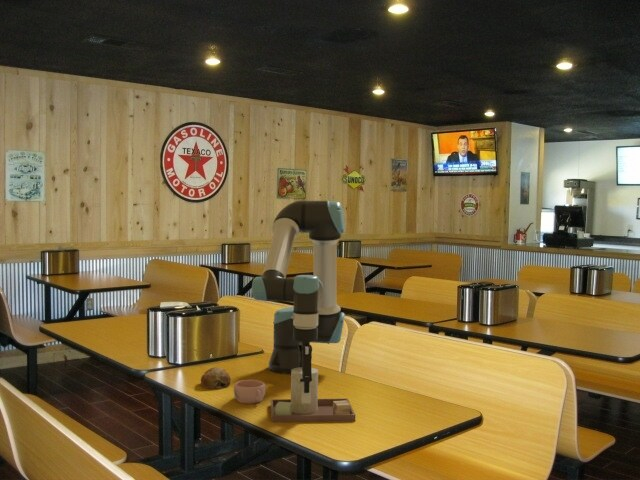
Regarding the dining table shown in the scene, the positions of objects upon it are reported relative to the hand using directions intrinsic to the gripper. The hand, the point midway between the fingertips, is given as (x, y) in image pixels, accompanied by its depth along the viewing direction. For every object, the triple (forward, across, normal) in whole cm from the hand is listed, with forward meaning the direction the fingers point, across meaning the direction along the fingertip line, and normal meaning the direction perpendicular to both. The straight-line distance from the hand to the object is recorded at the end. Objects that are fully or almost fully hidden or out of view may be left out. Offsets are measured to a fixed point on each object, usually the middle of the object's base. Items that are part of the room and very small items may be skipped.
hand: (304, 396), depth 202 cm
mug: (+5, -10, -16) cm, 20 cm away
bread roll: (+5, -31, -28) cm, 42 cm away
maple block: (+4, +6, +10) cm, 13 cm away
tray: (+5, +3, +2) cm, 6 cm away
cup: (+4, 0, 0) cm, 4 cm away
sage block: (+4, +7, -6) cm, 10 cm away
